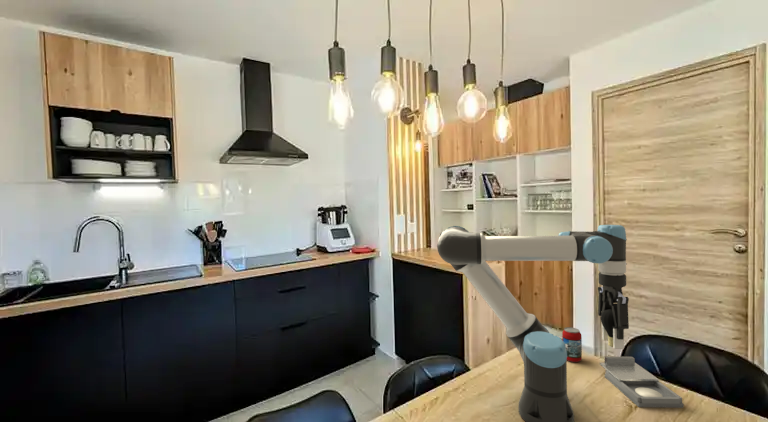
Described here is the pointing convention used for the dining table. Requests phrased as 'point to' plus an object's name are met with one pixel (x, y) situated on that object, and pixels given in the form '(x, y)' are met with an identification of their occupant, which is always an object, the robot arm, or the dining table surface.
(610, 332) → the light bulb
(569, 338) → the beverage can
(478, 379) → the dining table surface
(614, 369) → the lid
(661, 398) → the holder
